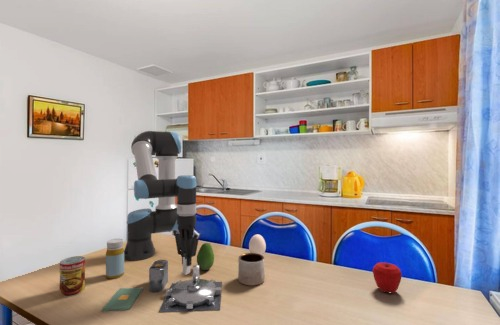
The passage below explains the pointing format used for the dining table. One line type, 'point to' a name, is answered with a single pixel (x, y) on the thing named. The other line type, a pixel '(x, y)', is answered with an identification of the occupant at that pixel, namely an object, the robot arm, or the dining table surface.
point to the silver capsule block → (158, 276)
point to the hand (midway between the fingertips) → (186, 273)
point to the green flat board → (122, 299)
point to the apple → (387, 276)
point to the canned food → (72, 276)
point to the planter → (251, 269)
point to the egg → (257, 244)
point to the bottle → (114, 258)
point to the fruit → (205, 256)
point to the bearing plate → (204, 307)
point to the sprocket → (193, 291)
